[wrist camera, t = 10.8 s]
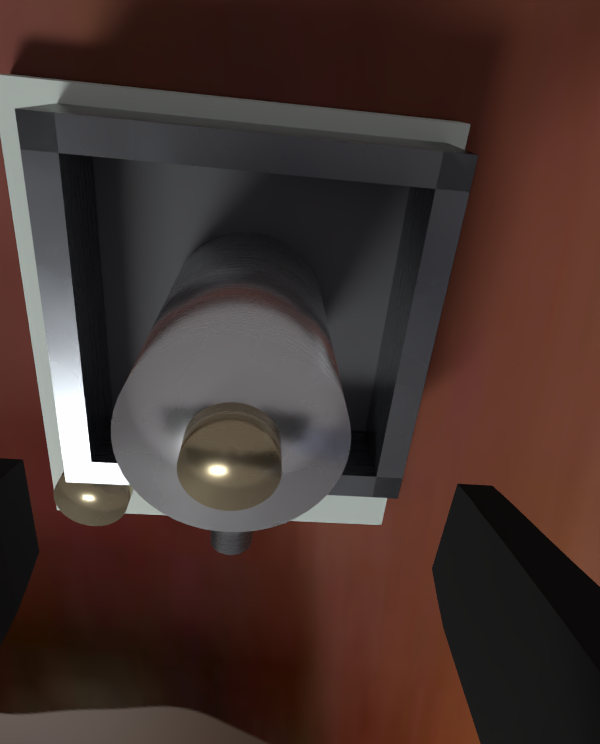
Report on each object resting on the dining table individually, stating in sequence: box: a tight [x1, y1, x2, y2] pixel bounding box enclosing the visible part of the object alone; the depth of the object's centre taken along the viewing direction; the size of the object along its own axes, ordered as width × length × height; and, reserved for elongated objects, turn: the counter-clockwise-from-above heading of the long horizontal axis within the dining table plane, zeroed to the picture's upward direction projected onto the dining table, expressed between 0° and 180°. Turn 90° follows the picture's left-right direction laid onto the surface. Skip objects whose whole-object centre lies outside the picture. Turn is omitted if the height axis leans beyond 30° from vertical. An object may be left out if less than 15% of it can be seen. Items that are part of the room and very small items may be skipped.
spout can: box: [111, 232, 351, 555], centre depth 13 cm, size 4×6×8 cm
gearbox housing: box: [0, 74, 478, 526], centre depth 16 cm, size 12×14×4 cm
